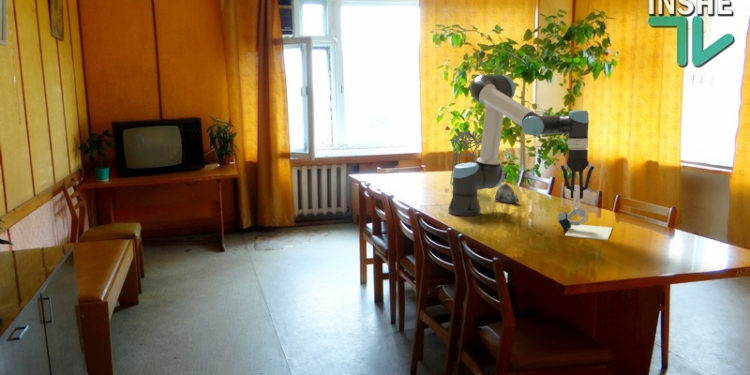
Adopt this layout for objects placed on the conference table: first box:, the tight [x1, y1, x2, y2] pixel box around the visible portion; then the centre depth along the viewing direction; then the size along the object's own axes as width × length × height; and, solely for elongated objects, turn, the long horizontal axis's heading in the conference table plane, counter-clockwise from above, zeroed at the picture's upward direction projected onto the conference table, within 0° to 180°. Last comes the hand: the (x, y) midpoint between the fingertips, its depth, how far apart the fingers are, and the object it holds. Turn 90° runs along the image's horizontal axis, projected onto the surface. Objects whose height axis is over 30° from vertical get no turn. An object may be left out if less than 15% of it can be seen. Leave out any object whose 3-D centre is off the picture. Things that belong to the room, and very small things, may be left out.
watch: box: [557, 206, 589, 231], centre depth 239 cm, size 6×8×11 cm
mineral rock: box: [494, 183, 520, 204], centre depth 300 cm, size 13×11×10 cm
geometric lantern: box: [449, 131, 482, 187], centre depth 328 cm, size 16×16×35 cm
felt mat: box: [564, 224, 613, 241], centre depth 237 cm, size 16×22×1 cm
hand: (576, 206), depth 238 cm, fingers closed
